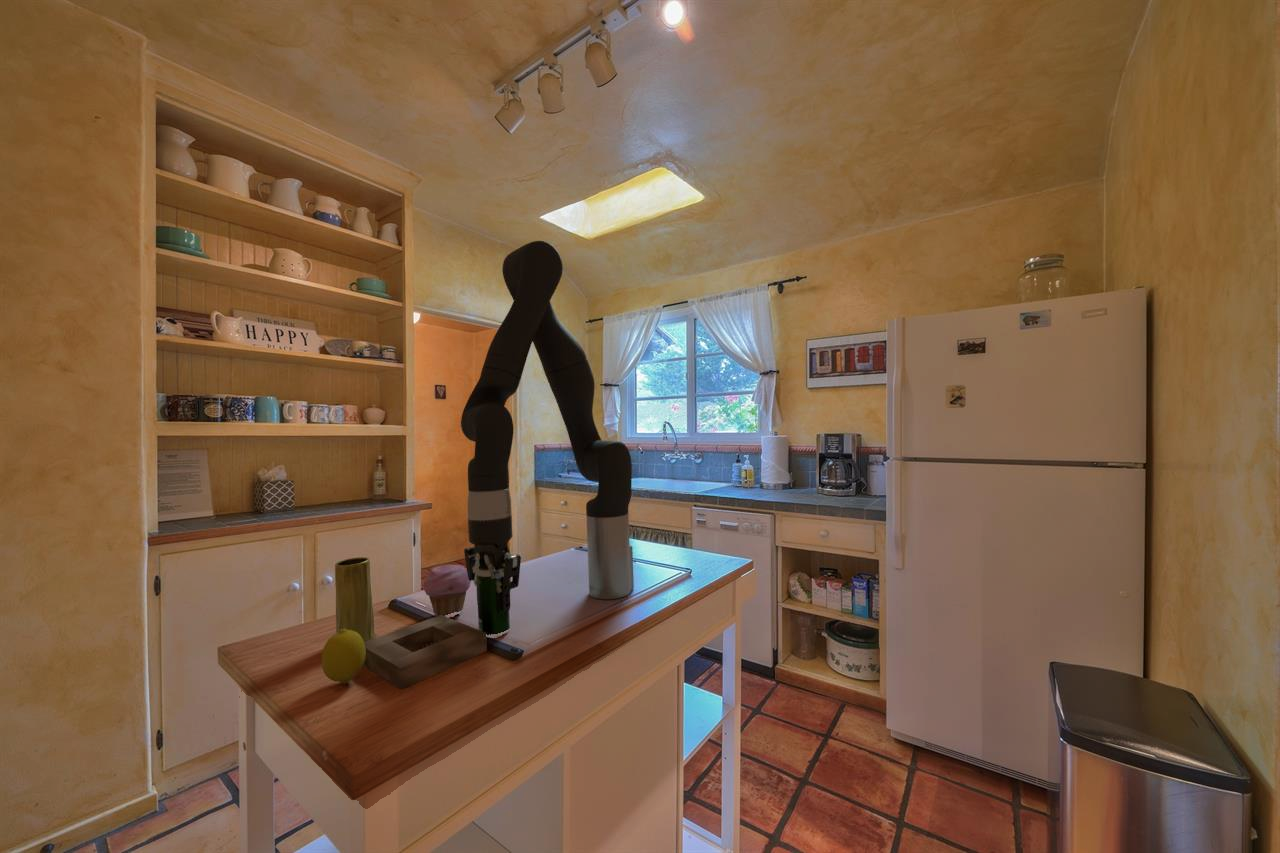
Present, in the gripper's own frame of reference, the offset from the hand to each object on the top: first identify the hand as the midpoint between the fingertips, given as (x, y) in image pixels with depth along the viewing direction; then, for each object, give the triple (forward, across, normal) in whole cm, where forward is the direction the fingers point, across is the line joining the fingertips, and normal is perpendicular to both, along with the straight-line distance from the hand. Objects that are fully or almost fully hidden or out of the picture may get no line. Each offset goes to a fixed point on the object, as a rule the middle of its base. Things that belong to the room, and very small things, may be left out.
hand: (493, 608), depth 87 cm
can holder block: (+4, +2, +12) cm, 13 cm away
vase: (+5, +18, +16) cm, 25 cm away
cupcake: (+5, +15, 0) cm, 16 cm away
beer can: (+5, 0, 0) cm, 5 cm away
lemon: (+5, +4, +23) cm, 24 cm away
